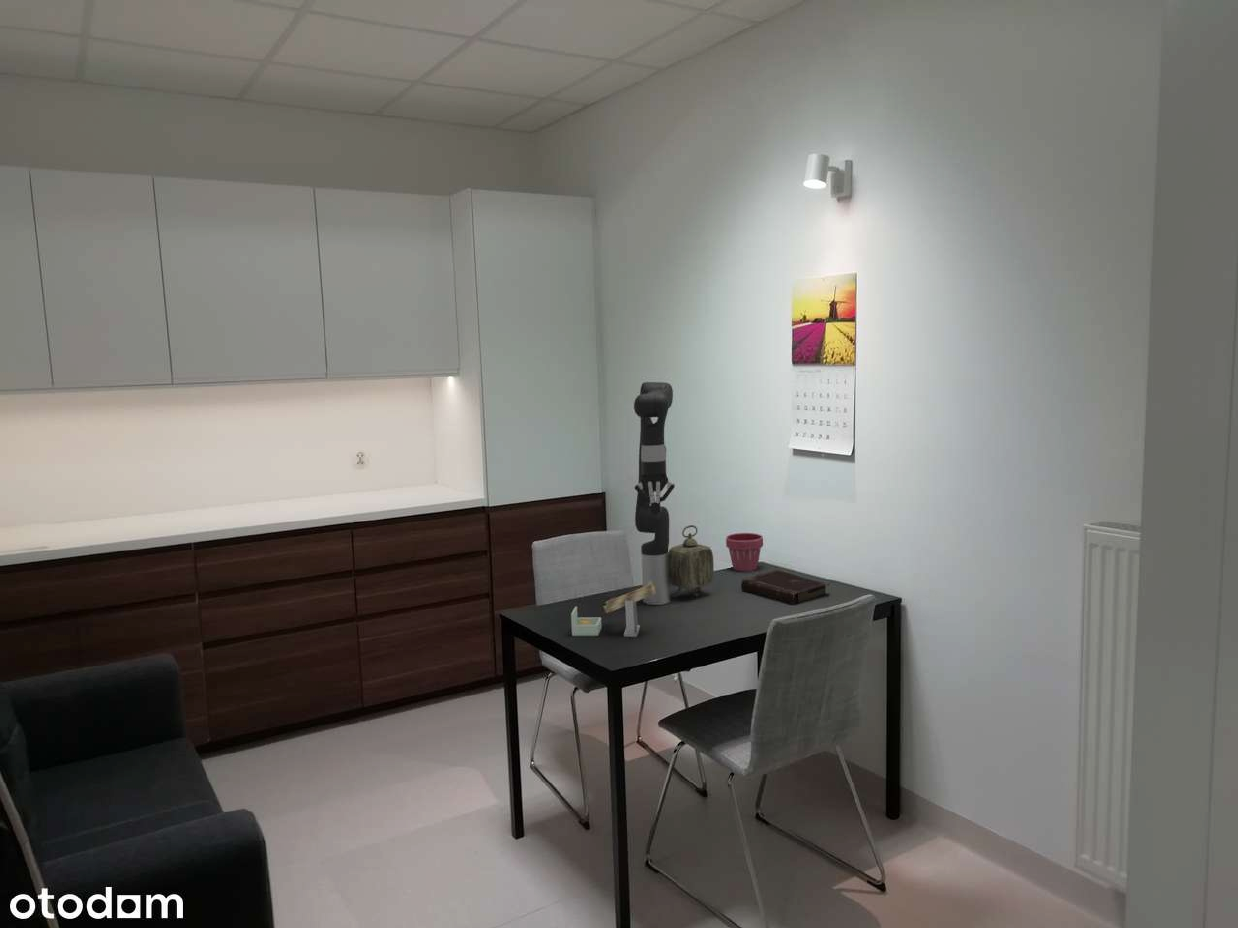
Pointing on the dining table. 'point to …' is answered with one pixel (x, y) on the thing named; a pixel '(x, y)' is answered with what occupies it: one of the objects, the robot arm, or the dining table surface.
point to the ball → (584, 623)
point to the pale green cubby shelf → (585, 629)
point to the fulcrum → (631, 619)
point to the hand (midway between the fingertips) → (655, 514)
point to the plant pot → (744, 550)
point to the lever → (630, 597)
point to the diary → (784, 587)
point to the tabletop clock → (690, 564)
